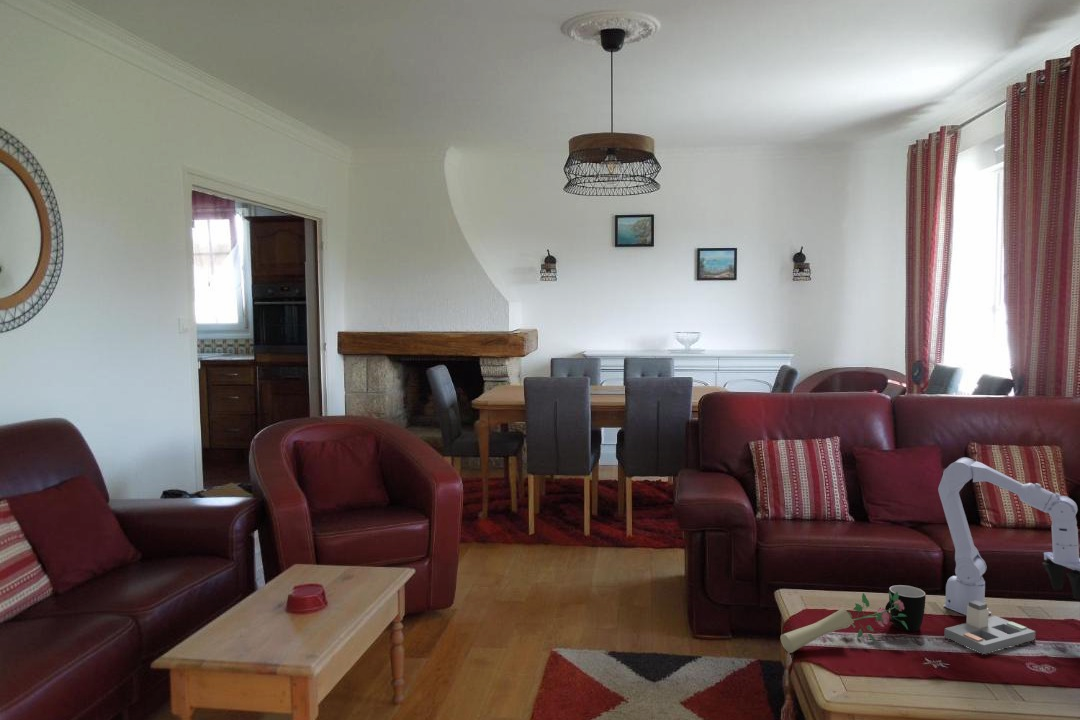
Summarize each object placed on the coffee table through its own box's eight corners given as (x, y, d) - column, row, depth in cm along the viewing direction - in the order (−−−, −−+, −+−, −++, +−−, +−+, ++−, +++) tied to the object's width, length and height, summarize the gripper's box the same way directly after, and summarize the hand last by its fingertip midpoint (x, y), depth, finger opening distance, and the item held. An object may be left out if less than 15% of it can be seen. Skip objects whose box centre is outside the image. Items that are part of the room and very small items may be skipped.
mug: (905, 618, 209) (906, 583, 208) (932, 630, 200) (933, 594, 200) (872, 624, 204) (873, 589, 204) (898, 637, 196) (899, 600, 195)
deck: (944, 637, 196) (944, 626, 196) (994, 624, 204) (995, 614, 204) (983, 654, 186) (983, 643, 186) (1035, 640, 194) (1035, 629, 194)
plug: (966, 623, 199) (967, 601, 198) (975, 621, 200) (976, 599, 200) (979, 628, 196) (979, 606, 195) (988, 626, 197) (988, 604, 197)
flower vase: (785, 673, 192) (888, 625, 203) (813, 681, 181) (921, 630, 191) (769, 628, 194) (872, 583, 205) (795, 633, 183) (903, 585, 193)
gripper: (1101, 549, 190) (1103, 601, 190) (1060, 535, 204) (1063, 584, 204) (1073, 551, 190) (1076, 603, 190) (1035, 537, 204) (1038, 585, 204)
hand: (1067, 593), depth 197 cm, fingers open, 7 cm apart
